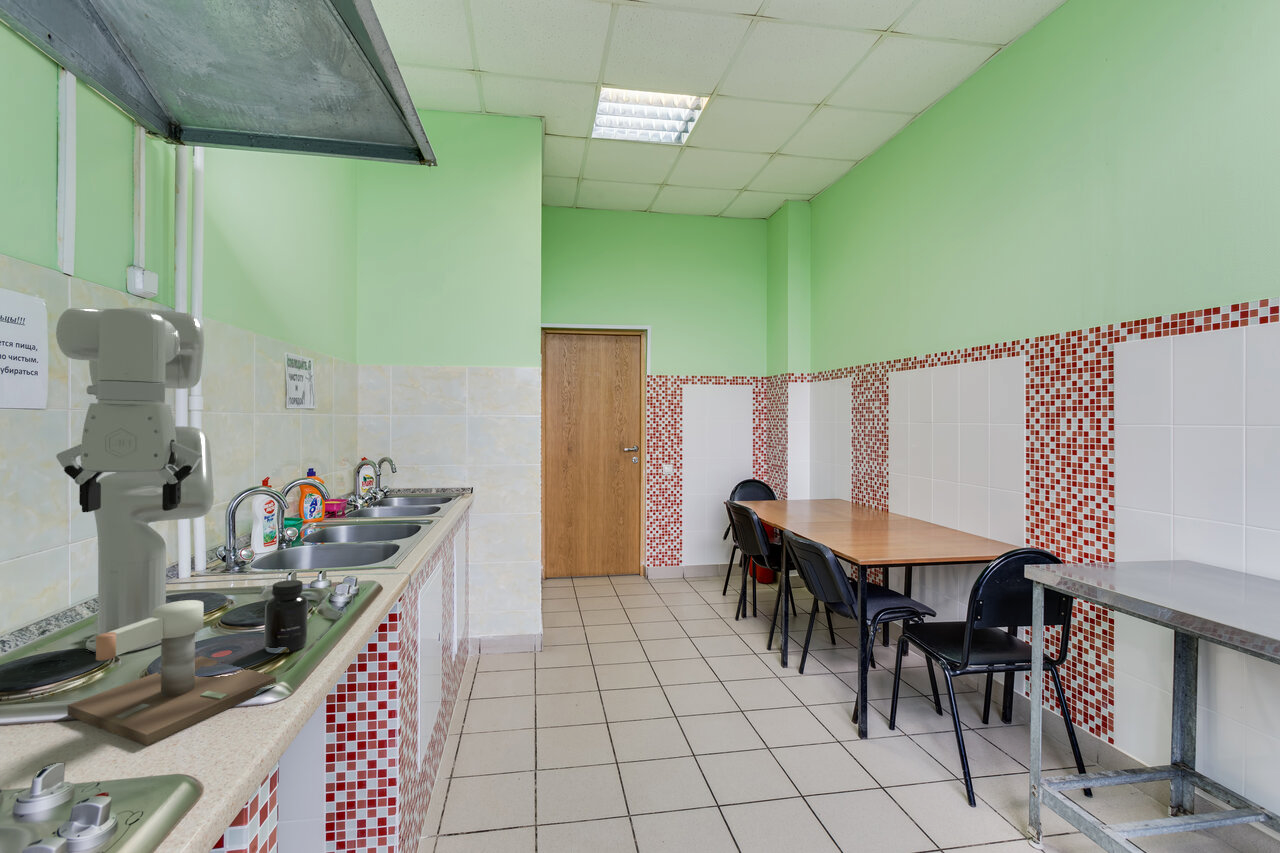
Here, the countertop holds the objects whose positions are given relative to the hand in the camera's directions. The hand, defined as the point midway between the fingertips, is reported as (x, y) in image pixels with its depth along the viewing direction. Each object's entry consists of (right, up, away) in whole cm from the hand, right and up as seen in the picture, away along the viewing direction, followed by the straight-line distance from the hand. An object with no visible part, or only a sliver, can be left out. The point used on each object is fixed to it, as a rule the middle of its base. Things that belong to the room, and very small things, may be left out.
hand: (131, 510), depth 86 cm
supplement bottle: (+10, -29, +22) cm, 37 cm away
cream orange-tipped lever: (+5, -19, -2) cm, 19 cm away
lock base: (+5, -29, +2) cm, 30 cm away
